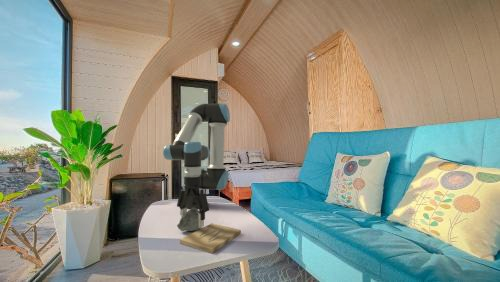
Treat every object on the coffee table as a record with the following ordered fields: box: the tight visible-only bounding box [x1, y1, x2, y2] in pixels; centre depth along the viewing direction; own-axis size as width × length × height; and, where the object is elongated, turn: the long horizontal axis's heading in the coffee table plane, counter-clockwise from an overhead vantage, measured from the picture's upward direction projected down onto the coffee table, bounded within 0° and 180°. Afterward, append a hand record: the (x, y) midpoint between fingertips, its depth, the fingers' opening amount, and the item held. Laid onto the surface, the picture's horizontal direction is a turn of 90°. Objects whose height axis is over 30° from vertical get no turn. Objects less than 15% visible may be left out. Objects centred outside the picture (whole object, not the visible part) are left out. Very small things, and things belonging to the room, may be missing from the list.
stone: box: [176, 208, 201, 232], centre depth 99 cm, size 10×10×10 cm
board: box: [179, 222, 242, 254], centre depth 91 cm, size 20×16×2 cm
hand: (192, 224), depth 99 cm, fingers closed on stone, 10 cm apart
